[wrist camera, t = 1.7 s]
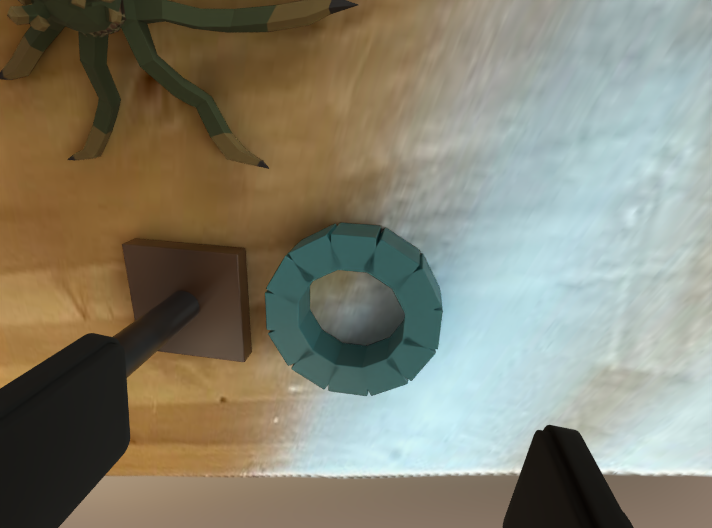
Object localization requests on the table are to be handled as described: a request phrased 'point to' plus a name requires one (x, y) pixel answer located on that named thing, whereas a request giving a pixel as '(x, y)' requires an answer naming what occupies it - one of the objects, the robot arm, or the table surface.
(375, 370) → the ring
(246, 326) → the stand
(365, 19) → the table surface
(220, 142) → the octopus toy
